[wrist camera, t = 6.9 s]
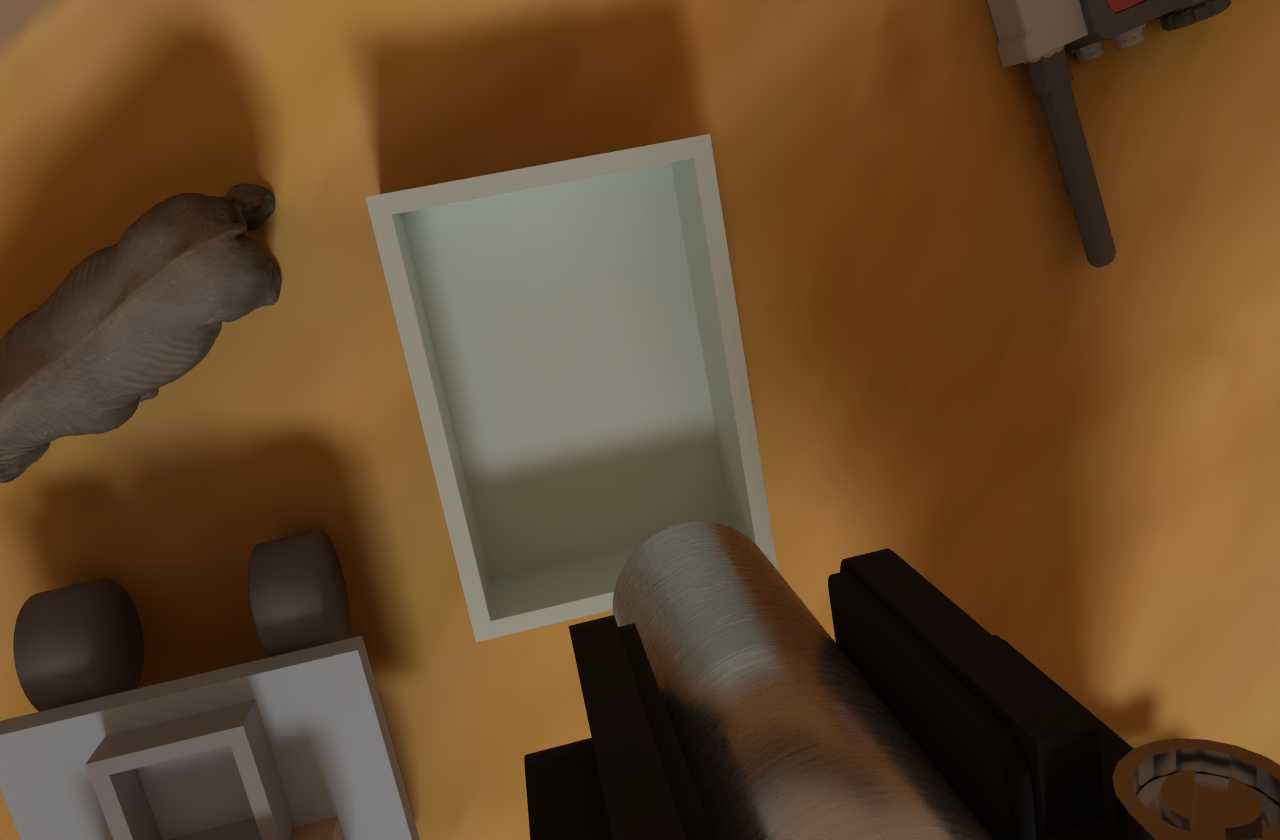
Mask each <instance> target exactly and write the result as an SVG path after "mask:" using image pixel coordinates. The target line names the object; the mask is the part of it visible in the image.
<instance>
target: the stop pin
mask: <svg viewBox="0 0 1280 840" xmlns="http://www.w3.org/2000/svg"><path fill="white" fill-rule="evenodd" d="M613 615H614V617H615V619H616V623H617V626H618V627H620V626H624V625H628V624H632V623H635V625H636V627H637V630H638V633H639V636H640V638H641V641H642V644H643V647H644V649H645V652H646V655H647V657H648V660H649V663H650V666H651V668H652V671H653V674H654V677H655V679H656V682H657V685H658V687H659V690H660V693H661V696H662V698H663V701H664V704H665V707H666V709H667V712H668V715H669V717H670V720H671V723H672V726H673V728H674V731H675V734H676V737H677V739H678V742H679V745H680V747H681V750H682V753H683V756H684V758H685V761H686V764H687V767H688V769H689V772H690V775H691V777H692V780H693V783H694V786H695V788H696V791H697V794H698V797H699V799H700V802H701V805H702V807H703V810H704V813H705V816H706V819H707V823H708V826H709V829H710V833H711V837H712V840H994V839H993V838H992V837H991V835H990V834H989V833H988V832H987V830H986V829H985V828H984V827H983V825H982V824H981V823H980V822H979V820H978V819H977V818H976V817H975V815H974V814H973V813H972V812H971V810H970V809H969V808H968V807H967V805H966V804H965V803H964V802H963V800H962V799H961V798H960V797H959V796H958V794H957V793H956V792H955V791H954V789H953V788H952V787H951V786H950V784H949V783H948V782H947V781H946V779H945V778H944V777H943V776H942V774H941V773H940V772H939V771H938V769H937V768H936V767H935V766H934V764H933V763H932V762H931V761H930V759H929V758H928V757H927V756H926V755H925V753H924V752H923V751H922V750H921V748H920V747H919V746H918V745H917V743H916V742H915V741H914V740H913V738H912V737H911V736H910V735H909V733H908V732H907V731H906V730H905V728H904V727H903V726H902V725H901V723H900V722H899V721H898V720H897V718H896V717H895V716H894V715H893V713H892V712H891V711H890V710H889V709H888V707H887V706H886V705H885V704H884V702H883V701H882V700H881V699H880V697H879V696H878V695H877V694H876V692H875V691H874V690H873V689H872V687H871V686H870V685H869V684H868V682H867V681H866V680H865V679H864V677H863V676H862V675H861V674H860V672H859V671H858V670H857V669H856V668H855V666H854V665H853V664H852V663H851V661H850V660H849V659H848V658H847V656H846V655H845V654H844V653H843V651H842V650H841V649H840V648H839V646H838V645H837V644H836V643H835V641H834V640H833V639H832V638H831V636H830V635H829V634H828V633H827V631H826V630H825V629H824V628H823V626H822V625H821V624H820V623H819V622H818V620H817V619H816V618H815V617H814V615H813V614H812V613H811V612H810V610H809V609H808V608H807V607H806V605H805V604H804V603H803V602H802V600H801V599H800V598H799V597H798V595H797V594H796V593H795V592H794V590H793V589H792V588H791V587H790V585H789V584H788V583H787V582H786V580H785V579H784V578H783V577H782V576H781V574H780V573H779V572H778V571H777V569H776V568H775V567H774V566H773V564H772V563H771V562H770V561H769V559H768V558H767V557H766V556H765V554H764V553H763V552H762V551H761V549H760V548H759V547H758V546H757V545H756V544H755V543H754V542H753V541H752V540H751V539H750V538H749V537H747V536H746V535H744V534H743V533H741V532H740V531H738V530H736V529H734V528H731V527H729V526H726V525H723V524H718V523H714V522H689V523H683V524H679V525H675V526H672V527H669V528H667V529H665V530H662V531H660V532H659V533H657V534H655V535H653V536H652V537H650V538H649V539H648V540H646V541H645V542H644V543H642V544H641V545H640V546H639V547H638V548H637V549H636V550H635V551H634V552H633V554H632V555H631V556H630V557H629V559H628V560H627V562H626V563H625V565H624V567H623V568H622V570H621V572H620V574H619V577H618V579H617V582H616V586H615V589H614V596H613Z"/></svg>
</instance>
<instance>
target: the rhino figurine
mask: <svg viewBox="0 0 1280 840" xmlns="http://www.w3.org/2000/svg"><path fill="white" fill-rule="evenodd" d="M274 209H275V198H274V196H273V195H272V194H271V193H270V192H269V191H268V190H266V189H265V188H263V187H261V186H257V185H251V184H241V185H235V186H233V187H232V188H231V189H230V190H229V194H228V195H227V196H224V197H216V196H209V195H203V194H197V193H184V194H179V195H176V196H172V197H170V198H168V199H166V200H164V201H162V202H160V203H159V204H157V205H155V206H154V207H152V208H151V209H150V210H148V211H147V212H146V213H145V214H144V215H142V216H141V217H140V218H139V219H138V220H137V221H136V222H135V223H134V224H132V225H131V226H130V227H129V228H127V230H126V231H125V232H124V234H123V235H122V237H121V239H120V241H119V243H118V244H115V245H113V246H110V247H107V248H104V249H101V250H99V251H97V252H95V253H93V254H92V255H90V256H88V257H87V258H86V259H84V260H83V261H82V262H81V263H80V264H78V265H77V266H76V267H75V268H74V269H73V270H72V271H71V272H70V273H69V275H68V276H67V277H66V279H65V280H64V281H63V283H62V284H61V285H60V286H59V287H58V288H57V290H56V291H55V292H54V293H53V294H52V295H51V296H50V297H49V298H48V299H47V300H46V301H45V302H44V303H43V304H42V305H41V306H40V307H39V308H38V309H37V310H35V311H33V312H31V313H29V314H27V315H26V316H24V317H23V318H22V319H20V320H19V321H18V322H17V323H16V324H15V325H14V326H13V327H12V328H11V329H10V330H9V331H8V332H7V333H6V334H5V336H4V337H3V338H2V340H1V341H0V483H6V482H9V481H12V480H14V479H15V478H17V477H19V476H20V475H21V474H22V473H23V472H24V471H25V470H26V469H27V467H29V466H30V465H31V464H32V463H34V462H36V461H37V460H38V459H39V458H40V457H41V456H42V455H43V454H44V453H45V452H46V451H47V450H48V448H49V446H50V442H51V441H53V440H55V439H57V438H59V437H63V436H77V435H85V434H100V433H104V432H108V431H111V430H113V429H116V428H118V427H120V426H121V425H122V424H124V423H125V422H126V421H127V420H128V419H130V418H131V417H132V415H133V414H134V412H135V411H136V409H137V407H138V404H139V402H142V401H144V400H147V399H153V398H154V397H156V396H157V395H158V390H159V387H161V386H164V385H166V384H168V383H171V382H173V381H175V380H176V379H178V378H180V377H181V376H183V375H184V374H186V373H187V372H188V371H190V370H191V369H192V368H194V367H195V366H196V365H197V364H198V363H199V362H200V361H201V360H202V359H203V358H204V357H205V356H206V355H207V354H208V352H209V351H210V349H211V347H212V346H213V344H214V342H215V340H216V338H217V336H218V335H219V333H220V331H221V328H222V326H221V323H222V321H225V322H230V321H235V320H238V319H239V318H241V317H243V316H245V315H247V314H249V313H250V312H251V311H252V310H254V309H256V308H260V307H261V306H269V305H273V304H275V303H276V302H277V301H278V298H279V295H280V289H281V282H282V279H281V275H280V272H279V269H278V268H277V267H276V266H275V265H273V264H272V261H271V260H270V259H268V258H267V256H266V254H265V251H264V250H263V248H262V247H261V246H260V245H259V244H258V243H257V242H256V241H254V240H253V239H251V238H248V237H246V236H245V232H246V230H251V229H256V228H258V227H259V226H260V225H261V224H262V223H263V222H264V220H266V219H267V218H268V217H269V216H270V215H271V214H272V213H273V212H274Z"/></svg>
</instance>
